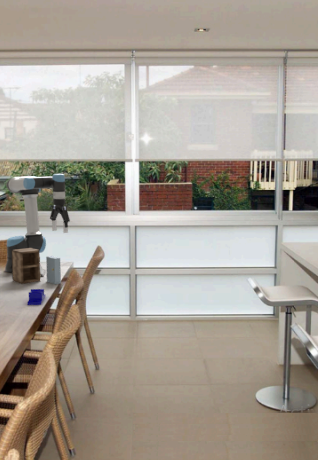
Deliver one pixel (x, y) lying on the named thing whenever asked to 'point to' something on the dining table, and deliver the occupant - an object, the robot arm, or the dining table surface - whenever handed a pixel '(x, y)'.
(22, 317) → the dining table surface
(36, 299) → the mounting bracket
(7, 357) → the dining table surface
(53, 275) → the upright grey-blue slab
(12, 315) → the dining table surface
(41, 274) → the white rounded housing
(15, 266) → the cabinet
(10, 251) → the robot arm
